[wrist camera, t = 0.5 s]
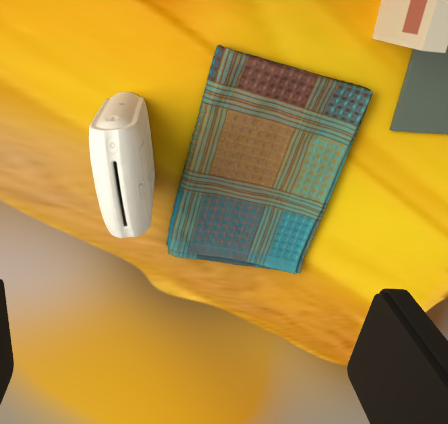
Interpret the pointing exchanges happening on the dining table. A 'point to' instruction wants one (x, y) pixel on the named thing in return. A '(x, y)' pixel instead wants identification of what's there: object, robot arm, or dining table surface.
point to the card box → (414, 24)
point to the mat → (424, 95)
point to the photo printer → (123, 164)
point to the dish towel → (262, 162)
